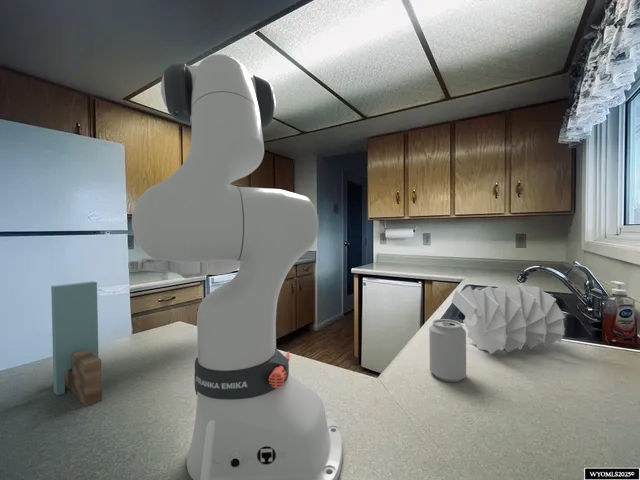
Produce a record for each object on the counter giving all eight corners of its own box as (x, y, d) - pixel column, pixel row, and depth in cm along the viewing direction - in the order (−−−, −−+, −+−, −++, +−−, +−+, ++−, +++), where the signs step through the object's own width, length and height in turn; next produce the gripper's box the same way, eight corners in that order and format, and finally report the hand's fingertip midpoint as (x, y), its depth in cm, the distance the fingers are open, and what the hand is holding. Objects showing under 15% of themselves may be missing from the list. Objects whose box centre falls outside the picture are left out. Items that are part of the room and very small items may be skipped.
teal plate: (99, 381, 63) (96, 282, 63) (56, 395, 58) (54, 286, 57) (95, 377, 65) (93, 281, 64) (53, 391, 59) (51, 285, 59)
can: (470, 374, 64) (470, 321, 64) (459, 387, 59) (459, 329, 59) (437, 364, 69) (436, 315, 69) (424, 376, 64) (423, 322, 64)
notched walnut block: (101, 400, 56) (101, 359, 56) (85, 406, 54) (84, 364, 54) (77, 377, 65) (76, 342, 65) (63, 381, 63) (62, 345, 63)
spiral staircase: (556, 363, 78) (482, 370, 72) (506, 319, 94) (441, 322, 87) (592, 310, 71) (513, 313, 64) (531, 272, 86) (462, 271, 80)
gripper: (172, 251, 88) (120, 253, 77) (210, 251, 76) (155, 253, 64) (172, 272, 88) (120, 277, 76) (211, 275, 75) (156, 281, 64)
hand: (136, 266), depth 70 cm, fingers open, 8 cm apart
